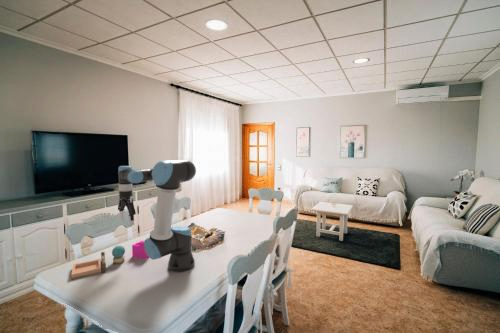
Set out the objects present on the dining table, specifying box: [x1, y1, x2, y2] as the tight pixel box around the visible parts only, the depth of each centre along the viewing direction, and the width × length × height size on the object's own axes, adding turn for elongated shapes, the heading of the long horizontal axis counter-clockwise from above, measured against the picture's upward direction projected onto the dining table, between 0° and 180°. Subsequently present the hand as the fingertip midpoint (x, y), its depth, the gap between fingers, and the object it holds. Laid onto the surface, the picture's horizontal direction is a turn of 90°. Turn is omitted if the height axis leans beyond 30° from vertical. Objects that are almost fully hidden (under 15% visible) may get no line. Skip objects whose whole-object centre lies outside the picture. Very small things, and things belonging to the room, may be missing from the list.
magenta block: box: [131, 240, 149, 259], centre depth 159 cm, size 12×10×10 cm
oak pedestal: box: [112, 254, 125, 265], centre depth 147 cm, size 6×6×3 cm
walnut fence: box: [100, 251, 107, 274], centre depth 142 cm, size 18×2×5 cm, turn 33°
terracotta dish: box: [71, 258, 102, 280], centre depth 137 cm, size 13×13×2 cm
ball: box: [111, 245, 126, 258], centre depth 147 cm, size 7×7×7 cm
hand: (126, 223), depth 155 cm, fingers open, 13 cm apart
